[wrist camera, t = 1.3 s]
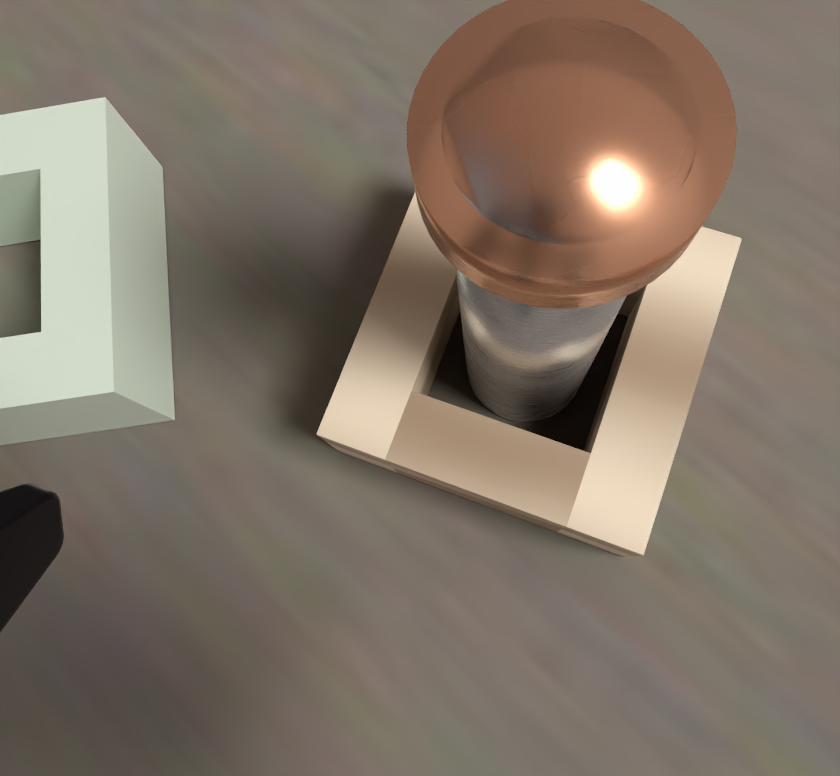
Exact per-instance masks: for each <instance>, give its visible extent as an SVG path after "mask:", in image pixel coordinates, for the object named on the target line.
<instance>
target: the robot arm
mask: <svg viewBox="0 0 840 776" xmlns="http://www.w3.org/2000/svg"><path fill="white" fill-rule="evenodd" d="M63 538H64V533H63V524H62V515H61V506H60V500H59V497H58V496H57V494H56V493H54V492H52V491H50V490H47V489H45V488H42V487H40V486H38V485H35V484H30V483H27V484H21V485H18V486H15V487H12V488H9V489H6V490H4V491H1V492H0V632H1V631H2V629H3V628H4V627H5V625H6V624H7V623H8V621H9V620H10V619H11V617H12V616H13V614H14V613H15V612H16V610H17V609H18V608H19V606H20V605H21V604H22V602H23V601H24V599H25V598H26V597H27V595H28V594H29V593H30V591H31V590H32V589H33V587H34V586H35V585H36V583H37V582H38V580H39V579H40V578H41V576H42V575H43V574H44V572H45V571H46V570H47V568H48V567H49V566H50V564H51V563H52V561H53V560H54V559H55V557H56V556H57V554H58V553H59V551H60V549H61V546H62V544H63Z"/></svg>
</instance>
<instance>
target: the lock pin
mask: <svg viewBox="0 0 840 776" xmlns="http://www.w3.org/2000/svg"><path fill="white" fill-rule="evenodd" d="M736 131H737V126H736V117H735V109H734V104H733V101H732V97H731V94H730V90H729V87H728V85H727V83H726V80H725V78H724V76H723V74H722V71H721V70H720V68H719V66H718V65H717V63H716V62H715V60H714V58H713V57H712V55H711V54H710V53H709V51H708V50H707V49H706V48H705V47H704V45H703V44H702V43H701V42H700V41H699V39H698V38H696V37H695V36H694V35H693V34H692V33H691V32H690V31H689V30H688V29H687V28H686V27H684V26H683V25H682V24H680V23H679V22H678V21H676V20H675V19H673V18H672V17H671V16H669V15H668V14H666V13H664V12H662V11H660V10H659V9H657V8H655V7H653V6H651V5H649V4H647V3H644V2H642V1H639V0H507V1H505V2H503V3H500V4H498V5H496V6H493V7H491V8H489V9H488V10H486V11H484V12H482V13H481V14H479V15H477V16H475V17H474V18H472V19H471V20H470V21H468V22H467V23H466V24H464V25H463V26H462V27H460V28H459V29H458V30H457V31H456V32H455V33H454V34H453V35H452V36H450V37H449V38H448V39H447V40H446V41H445V42H444V43H443V45H442V46H441V47H440V48H439V49H438V51H437V52H436V53H435V54H434V56H433V57H432V58H431V60H430V62H429V63H428V65H427V66H426V68H425V70H424V71H423V73H422V75H421V77H420V80H419V82H418V84H417V86H416V88H415V91H414V94H413V98H412V101H411V105H410V108H409V115H408V122H407V149H408V155H409V162H410V167H411V172H412V178H413V183H414V188H415V193H416V198H417V203H418V206H419V210H420V213H421V216H422V220H423V222H424V224H425V226H426V228H427V230H428V233H429V235H430V237H431V238H432V240H433V241H434V243H435V244H436V246H437V247H438V249H439V250H440V252H441V253H442V254H443V255H444V256H445V258H446V259H447V260H448V261H449V262H450V263H451V264H452V265H453V266H454V267H455V268H456V276H457V285H458V294H459V303H460V312H461V321H462V330H463V339H464V348H465V357H466V366H467V374H468V379H469V382H470V385H471V387H472V389H473V392H474V393H475V395H476V396H477V398H478V399H479V400H480V401H481V403H482V404H483V405H484V406H486V407H487V408H488V409H489V410H491V411H492V412H493V413H495V414H497V415H499V416H501V417H503V418H506V419H509V420H513V421H520V422H532V421H539V420H542V419H546V418H548V417H551V416H553V415H555V414H556V413H558V412H560V411H561V410H562V409H563V408H565V407H566V406H567V405H568V404H569V403H570V402H571V401H572V399H573V398H574V396H575V395H576V393H577V391H578V390H579V388H580V386H581V384H582V382H583V380H584V378H585V376H586V374H587V372H588V370H589V368H590V366H591V364H592V362H593V360H594V358H595V357H596V355H597V353H598V351H599V349H600V347H601V345H602V343H603V341H604V339H605V337H606V335H607V333H608V331H609V329H610V327H611V325H612V323H613V321H614V320H615V318H616V316H617V314H618V312H619V310H620V308H621V306H622V304H623V302H624V300H625V298H626V296H627V295H629V294H631V293H634V292H636V291H638V290H639V289H641V288H643V287H644V286H646V285H648V284H649V283H651V282H653V281H654V280H655V279H657V278H658V277H659V276H660V275H662V274H663V273H664V272H666V271H667V270H668V269H669V268H670V267H671V266H672V265H673V264H674V263H675V262H676V261H677V260H678V259H679V258H680V257H681V256H682V254H683V253H684V252H685V250H686V249H687V247H688V246H689V245H690V243H691V242H692V240H693V239H694V237H695V236H696V234H697V233H698V231H699V229H700V228H701V226H702V225H703V223H704V222H705V220H706V218H707V217H708V215H709V214H710V212H711V210H712V209H713V207H714V206H715V204H716V202H717V200H718V199H719V197H720V195H721V193H722V191H723V189H724V187H725V185H726V183H727V180H728V177H729V174H730V171H731V168H732V165H733V160H734V154H735V149H736Z"/></svg>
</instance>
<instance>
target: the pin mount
mask: <svg viewBox="0 0 840 776" xmlns="http://www.w3.org/2000/svg"><path fill="white" fill-rule="evenodd" d="M741 240H742V238H739V237H735V236H732V235H729V234H725V233H722V232H718V231H715V230H711V229H708V228H705V227H701V228H700V229H699V231H698V233H697V234H696V236H695V237H694V239H693V240H692V242H691V243H690V245H689V246H688V247H687V249H686V250H685V252H684V253H683V254H682V256H681V257H680V258H679V259H678V260H677V261H676V262H675V263H674V264H673V265H672V266H671V267H670V268H669V269H668V270H667V271H666V272H664V273H663V274H662V275H660V276H659V277H658V278H657V279H655V280H654V281H653V282H651V283H649V284H648V285H646V286H644V287H643V288H641V289H639V290H638V291H636V292H634V293H631V294H629V295H627V296H626V298H625V300H624V302H623V304H622V306H621V308H620V310H619V312H618V314H620V315H623V316H626V317H628V319H627V322H626V325H625V328H624V331H623V334H622V337H621V340H620V343H619V346H618V349H617V352H616V355H615V358H614V361H613V364H612V366H611V369H610V372H609V375H608V378H607V381H606V384H605V387H604V390H603V393H602V396H601V399H600V402H599V405H598V408H597V411H596V414H595V417H594V420H593V423H592V426H591V429H590V432H589V435H588V438H587V441H586V444H585V447H584V450H580V449H577V448H574V447H571V446H568V445H565V444H563V443H560V442H557V441H554V440H551V439H548V438H546V437H543V436H540V435H537V434H534V433H531V432H528V431H526V430H523V429H520V428H517V427H514V426H511V425H508V424H506V423H503V422H500V421H497V420H494V419H491V418H489V417H486V416H483V415H480V414H477V413H474V412H471V411H469V410H466V409H463V408H460V407H457V406H454V405H451V404H449V403H446V402H443V401H440V400H437V399H434V398H432V397H429V396H428V393H429V391H430V388H431V386H432V383H433V380H434V378H435V375H436V372H437V370H438V367H439V365H440V362H441V359H442V357H443V354H444V352H445V349H446V346H447V344H448V341H449V338H450V336H451V333H452V331H453V328H454V325H455V323H456V320H457V317H458V315H459V312H460V303H459V294H458V285H457V276H456V268H455V267H454V266H453V265H452V264H451V263H450V262H449V261H448V260H447V259H446V258H445V256H444V255H443V254H442V253H441V252H440V250H439V249H438V247H437V246H436V244H435V243H434V241H433V240H432V238H431V237H430V235H429V233H428V230H427V228H426V226H425V224H424V222H423V220H422V216H421V213H420V210H419V206H418V203H417V198H416V193H414V196H413V198H412V201H411V203H410V206H409V208H408V211H407V213H406V216H405V218H404V220H403V223H402V225H401V228H400V230H399V233H398V235H397V238H396V240H395V243H394V245H393V247H392V250H391V252H390V255H389V257H388V260H387V262H386V265H385V267H384V270H383V272H382V274H381V277H380V279H379V282H378V284H377V287H376V289H375V292H374V294H373V297H372V299H371V301H370V304H369V306H368V309H367V311H366V314H365V316H364V319H363V321H362V324H361V326H360V328H359V331H358V333H357V336H356V338H355V341H354V343H353V346H352V348H351V351H350V353H349V355H348V358H347V360H346V363H345V365H344V368H343V370H342V373H341V375H340V378H339V380H338V382H337V385H336V387H335V390H334V392H333V395H332V397H331V400H330V402H329V405H328V407H327V409H326V412H325V414H324V417H323V419H322V422H321V424H320V427H319V429H318V432H317V434H316V435H318V436H319V437H320V438H322V439H323V440H324V441H326V442H327V443H328V444H330V445H331V446H332V447H334V448H335V449H336V450H337V451H340V452H342V453H345V454H348V455H350V456H353V457H356V458H358V459H361V460H364V461H367V462H369V463H372V464H375V465H377V466H380V467H383V468H385V469H388V470H391V471H393V472H396V473H399V474H402V475H404V476H407V477H410V478H412V479H415V480H418V481H420V482H423V483H426V484H429V485H431V486H434V487H437V488H439V489H442V490H445V491H447V492H450V493H453V494H455V495H458V496H461V497H464V498H466V499H469V500H472V501H474V502H477V503H480V504H482V505H485V506H488V507H490V508H493V509H496V510H499V511H501V512H504V513H507V514H509V515H512V516H515V517H517V518H520V519H523V520H525V521H528V522H531V523H534V524H536V525H539V526H542V527H544V528H547V529H550V530H552V531H555V532H558V533H560V534H563V535H566V536H569V537H571V538H574V539H577V540H579V541H582V542H585V543H587V544H590V545H593V546H595V547H598V548H601V549H604V550H606V551H609V552H612V553H614V554H617V555H620V556H622V557H624V556H640V555H644V552H645V549H646V546H647V543H648V539H649V536H650V533H651V530H652V526H653V523H654V520H655V517H656V514H657V510H658V507H659V504H660V501H661V497H662V494H663V491H664V488H665V485H666V481H667V478H668V475H669V472H670V468H671V465H672V462H673V459H674V456H675V452H676V449H677V446H678V443H679V439H680V436H681V433H682V430H683V427H684V423H685V420H686V417H687V414H688V410H689V407H690V404H691V401H692V398H693V394H694V391H695V388H696V385H697V382H698V378H699V375H700V372H701V369H702V365H703V362H704V359H705V356H706V353H707V349H708V346H709V343H710V340H711V336H712V333H713V330H714V327H715V324H716V320H717V317H718V314H719V311H720V307H721V304H722V301H723V298H724V295H725V291H726V288H727V285H728V282H729V278H730V275H731V272H732V269H733V266H734V262H735V259H736V256H737V253H738V249H739V246H740V243H741Z"/></svg>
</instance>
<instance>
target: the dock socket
mask: <svg viewBox="0 0 840 776" xmlns="http://www.w3.org/2000/svg"><path fill="white" fill-rule="evenodd" d="M35 240H41V332H37V333H30V334H24V335H17V336H11V337H4V338H0V445H6V444H13V443H20V442H27V441H34V440H41V439H48V438H54V437H61V436H68V435H75V434H82V433H89V432H96V431H103V430H110V429H117V428H123V427H130V426H137V425H144V424H151V423H158V422H165V421H172V420H175V412H174V392H173V371H172V351H171V330H170V310H169V290H168V269H167V249H166V228H165V208H164V187H163V167H162V166H161V165H160V163H159V162H158V161H157V160H156V159H155V157H154V156H153V155H152V154H151V153H150V151H149V150H148V149H147V148H146V146H145V145H144V144H143V143H142V142H141V140H140V139H139V138H138V137H137V135H136V134H135V133H134V132H133V131H132V129H131V128H130V127H129V126H128V124H127V123H126V122H125V121H124V120H123V118H122V117H121V116H120V115H119V113H118V112H117V111H116V110H115V109H114V107H113V106H112V105H111V104H110V102H109V101H108V100H107V99H106V98H105V97H104V98H98V99H92V100H86V101H80V102H74V103H69V104H63V105H57V106H51V107H45V108H39V109H33V110H28V111H22V112H16V113H10V114H4V115H0V246H4V245H11V244H17V243H23V242H29V241H35Z"/></svg>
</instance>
